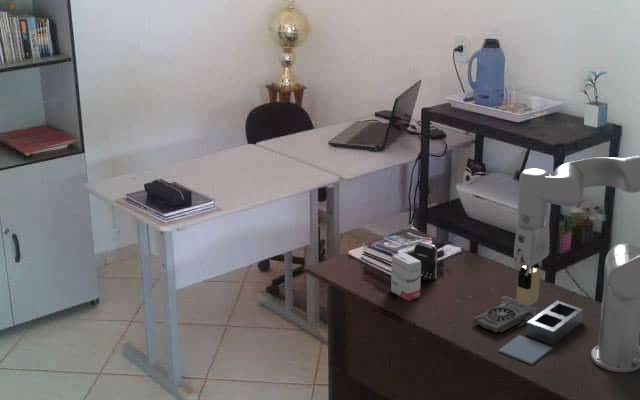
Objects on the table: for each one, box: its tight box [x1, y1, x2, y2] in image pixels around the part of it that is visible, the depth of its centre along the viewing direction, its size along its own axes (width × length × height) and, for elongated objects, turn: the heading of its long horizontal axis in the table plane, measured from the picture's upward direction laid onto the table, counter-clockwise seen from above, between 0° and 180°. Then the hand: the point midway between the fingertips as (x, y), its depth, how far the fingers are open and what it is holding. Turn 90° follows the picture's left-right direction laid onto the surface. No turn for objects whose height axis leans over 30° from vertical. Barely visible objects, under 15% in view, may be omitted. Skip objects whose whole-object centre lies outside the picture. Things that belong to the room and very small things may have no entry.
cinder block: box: [525, 300, 584, 345], centre depth 237 cm, size 8×16×4 cm, turn 136°
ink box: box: [390, 251, 422, 302], centre depth 258 cm, size 9×5×12 cm, turn 34°
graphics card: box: [473, 295, 537, 333], centre depth 243 cm, size 17×4×12 cm
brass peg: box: [515, 265, 541, 306], centre depth 221 cm, size 4×4×9 cm
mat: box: [498, 334, 553, 366], centre depth 228 cm, size 10×10×1 cm
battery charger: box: [413, 241, 438, 282], centre depth 267 cm, size 7×4×11 cm, turn 51°
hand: (528, 283), depth 221 cm, fingers closed on brass peg, 4 cm apart
